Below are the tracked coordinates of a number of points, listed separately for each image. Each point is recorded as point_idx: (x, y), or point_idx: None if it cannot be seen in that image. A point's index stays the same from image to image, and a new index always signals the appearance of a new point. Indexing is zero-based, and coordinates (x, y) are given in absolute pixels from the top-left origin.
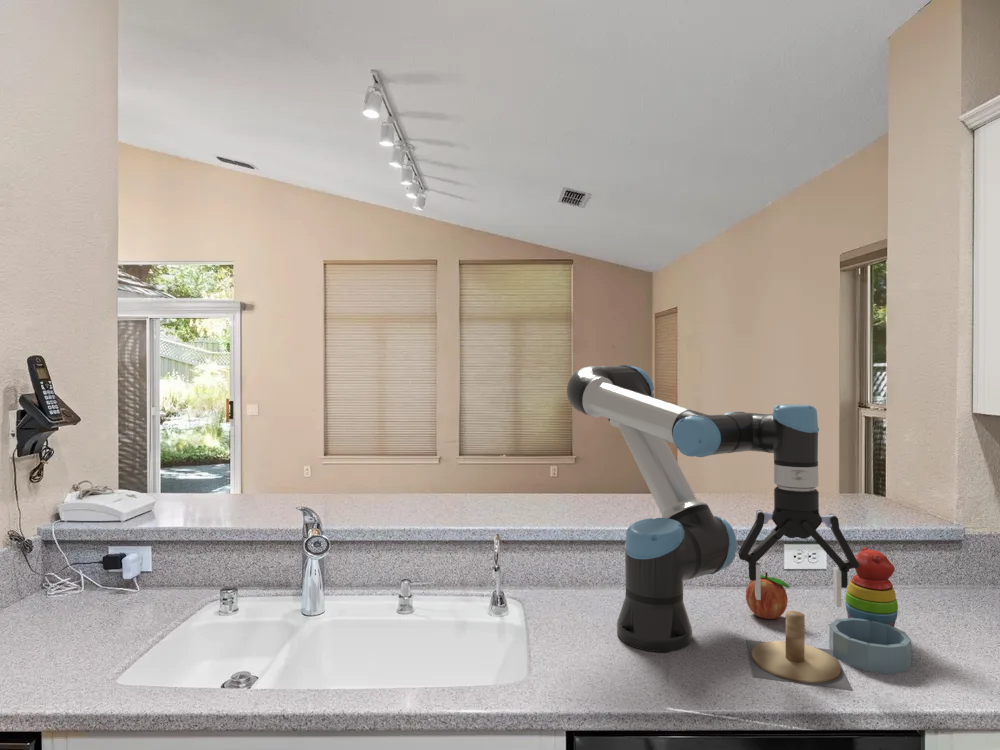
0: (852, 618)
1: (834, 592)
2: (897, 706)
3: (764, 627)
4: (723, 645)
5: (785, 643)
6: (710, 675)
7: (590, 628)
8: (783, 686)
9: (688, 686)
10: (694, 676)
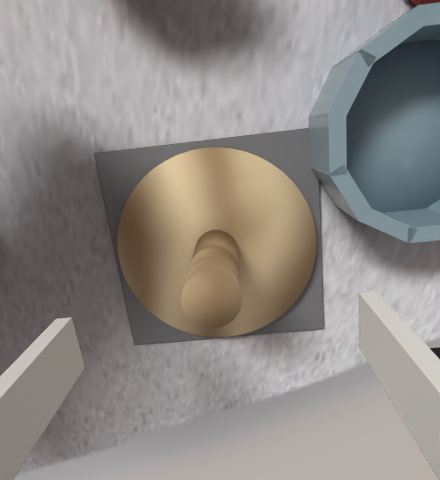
0: (423, 11)
1: (376, 331)
2: None
3: (133, 16)
4: (48, 204)
5: (194, 165)
6: None
7: None
8: (192, 351)
9: None
10: None
